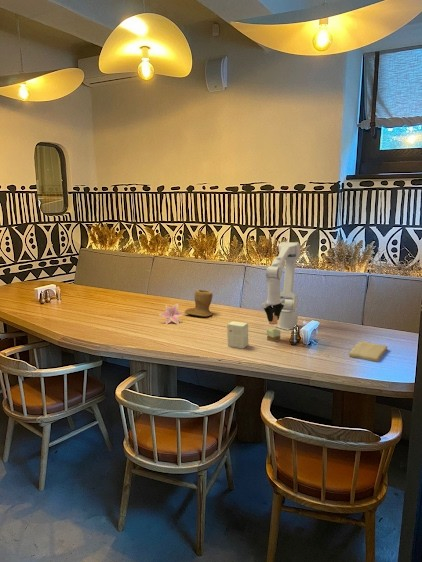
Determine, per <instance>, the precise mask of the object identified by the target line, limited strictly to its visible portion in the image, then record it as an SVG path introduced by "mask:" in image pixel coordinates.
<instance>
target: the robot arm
mask: <svg viewBox="0 0 422 562" xmlns="http://www.w3.org/2000/svg"><path fill="white" fill-rule="evenodd" d="M300 254H301V243H299V241H297V242H290V241H289V242H288V241H280V242H279V244H278V255H277V256H275V258H274V259H273V261H272V263H271V265H269V266H268V267H266V268H265V269H266V270H265V276H266V282H267V299H266V300H265V301H264V302H263V303H261V308H262V309H263V310H264V312H265V314H266V317H267V321H268V322H269V321H270V322H272V321H273V315H276V316H278V320H277V321H279V324H277V325H276V326H275V328H279V329H282V330H285V331H289V330H292V329H294V328H293V327H294V326H295V325H299V324H298V323H299V322H298V321H299V320H298V318H299V315H298V312H297V309H298V295H296V293H294V291H293V290H294V281H295V280H294V279H295V270H296V262H297V260H300ZM283 272H284V280H283V290H282V291H281V279H282V277H283Z"/></svg>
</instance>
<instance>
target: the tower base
mask: <svg viewBox="0 0 422 562" xmlns="http://www.w3.org/2000/svg"><path fill="white" fill-rule="evenodd" d="M266 340H267V341H270V342H274V343H277V342H278V341H280V340H281V335H280V336H277V337H271V336H268V335H266Z"/></svg>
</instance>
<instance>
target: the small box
mask: <svg viewBox="0 0 422 562" xmlns="http://www.w3.org/2000/svg"><path fill="white" fill-rule="evenodd" d="M226 330H227V347H231V348H237V349H238V348H239V349H245V348H246V347H248V346H249V323H248V322H241V321H231V322H229V323H227V328H226Z"/></svg>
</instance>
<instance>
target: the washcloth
mask: <svg viewBox="0 0 422 562" xmlns="http://www.w3.org/2000/svg"><path fill="white" fill-rule="evenodd" d="M387 351H388V345H385V344H377V343H372V342H371V341H370V342H369V341H364V340H363V341H359V342H357V343H356V344H355V346H353V347H352V349H350V351H349V354H348V356H349V357H350V358H353V359H354V358H355V359H360V360H365V361H370V362H378V363H379V361H380V359H381V358H382V357H383V356H384V355H385V353H386V352H387Z"/></svg>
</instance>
